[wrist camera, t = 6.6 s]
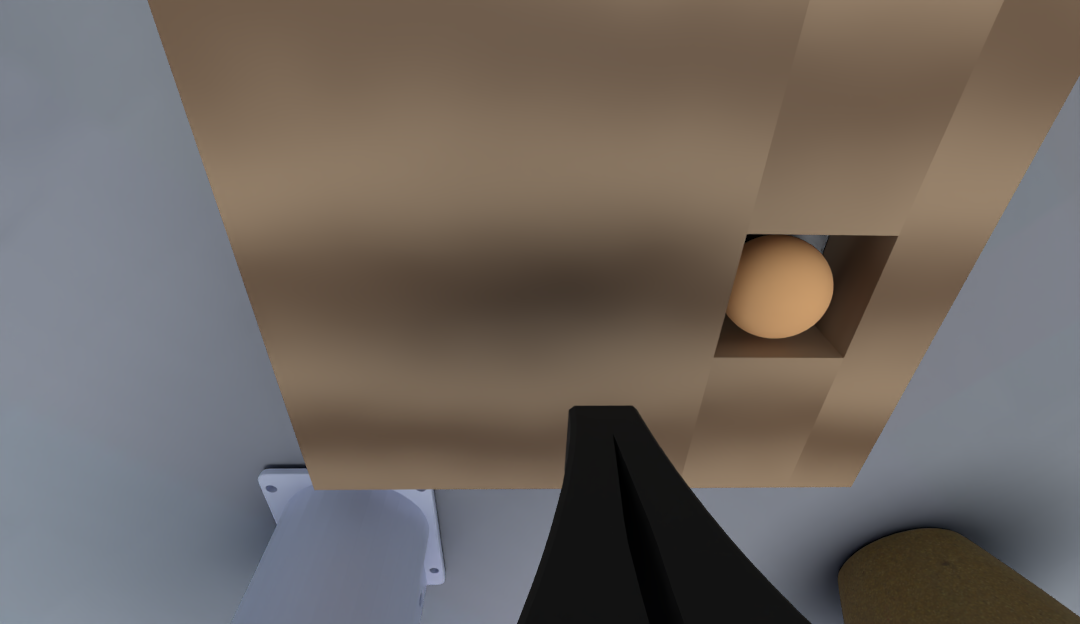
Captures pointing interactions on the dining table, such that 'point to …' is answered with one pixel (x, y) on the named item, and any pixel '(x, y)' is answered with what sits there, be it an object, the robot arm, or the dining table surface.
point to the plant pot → (940, 584)
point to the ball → (779, 287)
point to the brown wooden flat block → (603, 214)
